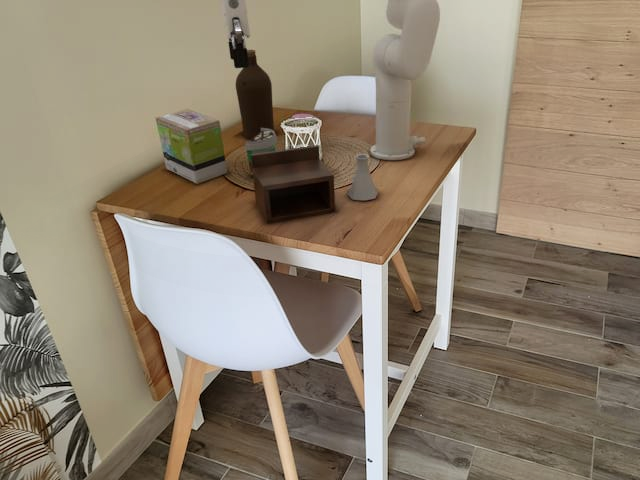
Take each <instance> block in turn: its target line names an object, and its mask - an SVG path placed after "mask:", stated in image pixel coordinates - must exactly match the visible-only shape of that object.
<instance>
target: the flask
mask: <svg viewBox="0 0 640 480" xmlns="http://www.w3.org/2000/svg"><path fill="white" fill-rule="evenodd" d="M369 158H370V155H369V154H367V153H359V154H356V155H355V159H356V167H355V172H354V176H353V180H352V182H351V185H350V188H349V191H348V194H347V196H348V197H349V198H350V199H351V200H353V201H370V200H374V199H376V198H377V196H378V194H379V192H378V190H377V187H376V185H375V183H374V180H373V177H372V174H371V171H370V166H369Z"/></svg>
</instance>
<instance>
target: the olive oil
mask: <svg viewBox="0 0 640 480" xmlns="http://www.w3.org/2000/svg"><path fill="white" fill-rule="evenodd" d="M247 54H248V62H249V67H246V68H241V70H240V71H239V73H238V74H237V76H236V79H235V91H236V96H237V101H238V107H239V114H240V118H241V119H240V120H241V125H242V131H243V137H245V138H246V139H248V140H252V139H253V137H254V136H256V135H258V134H259V133H260V132H261V128H267V129H271V130H273V131H274V132H275V123H274V107H273V106H274V105H273V85H272V84H273V83H272V81H271V78H270V75H269V74H268V73H267V72H266V71H265V70H264V69H263V68H262V67H261V66H259V64H258V59H257V55H256V50H255V49H247Z"/></svg>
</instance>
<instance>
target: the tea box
mask: <svg viewBox="0 0 640 480" xmlns="http://www.w3.org/2000/svg"><path fill="white" fill-rule="evenodd" d="M155 121H156V127H157V131H158V136H159V140H160V145H161V149H162V154H163V157H164V158H163V160H164V163H165V168H166V170H168V171H170V172H172V173H174V174H176V175H178V176H181V177H182V178H184V179H186V180H188V181H190V182H192V183H194V184H196V185H198V184H201V183H204V182H207V181H209V180H212V179H215V178H218V177H220V176H223V175H225V174H227V173H228V168H227V162H226V155H225V148H224V142H223V141H224V140H223V135H222V129H221V124H220V123H221V122H220V120H219V119H216V118H213V117H211V116H207V115H205V114H202V113H201V112H200V113H199V112H197V111H194V110H191V109H188V108H186V109H182V110H179V111H175V112H171V113H168V114H164V115H161V116H156V117H155Z"/></svg>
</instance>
